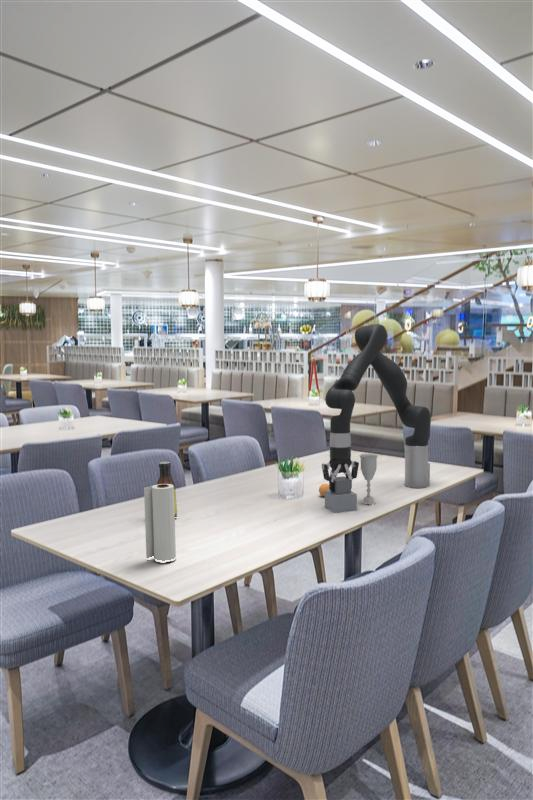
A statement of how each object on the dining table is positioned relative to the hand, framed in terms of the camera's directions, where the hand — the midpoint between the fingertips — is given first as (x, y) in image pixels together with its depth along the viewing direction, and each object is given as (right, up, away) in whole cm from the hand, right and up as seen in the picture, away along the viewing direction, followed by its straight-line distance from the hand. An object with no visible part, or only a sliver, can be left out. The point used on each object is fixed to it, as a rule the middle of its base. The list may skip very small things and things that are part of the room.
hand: (340, 490), depth 223 cm
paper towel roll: (-56, -12, -50) cm, 76 cm away
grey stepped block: (0, -7, +1) cm, 6 cm away
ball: (-4, -2, +18) cm, 18 cm away
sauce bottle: (-61, -9, -9) cm, 62 cm away
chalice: (+11, -6, +7) cm, 15 cm away
